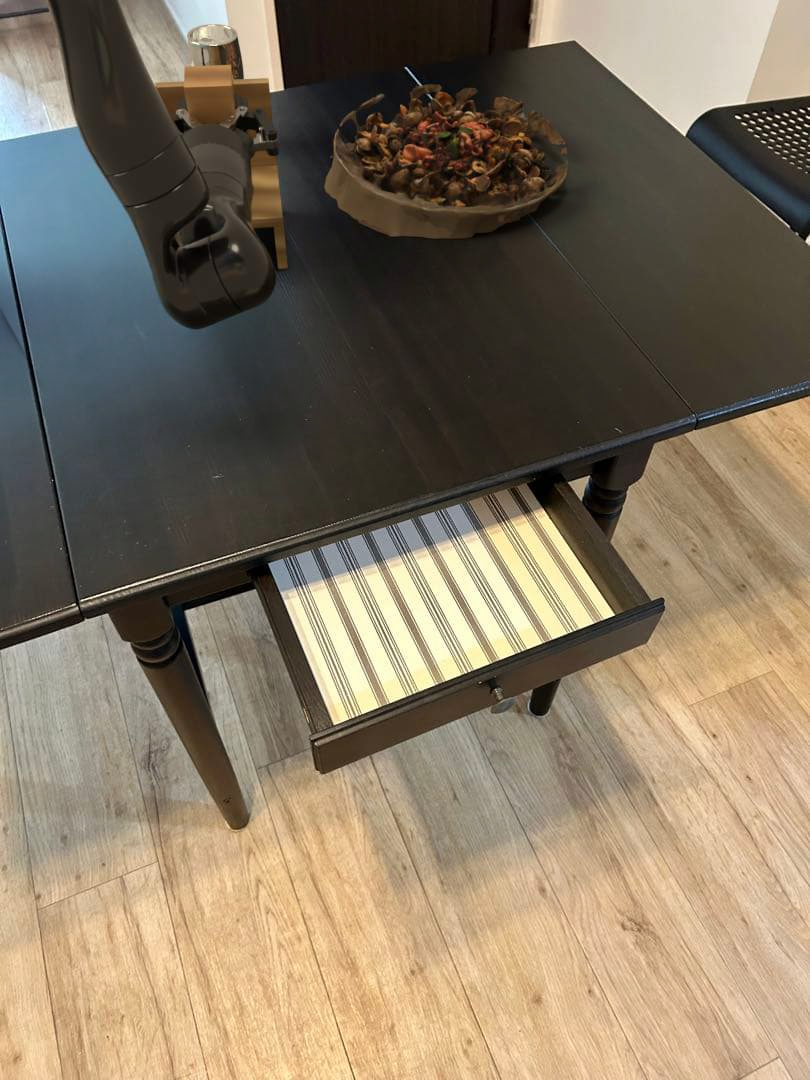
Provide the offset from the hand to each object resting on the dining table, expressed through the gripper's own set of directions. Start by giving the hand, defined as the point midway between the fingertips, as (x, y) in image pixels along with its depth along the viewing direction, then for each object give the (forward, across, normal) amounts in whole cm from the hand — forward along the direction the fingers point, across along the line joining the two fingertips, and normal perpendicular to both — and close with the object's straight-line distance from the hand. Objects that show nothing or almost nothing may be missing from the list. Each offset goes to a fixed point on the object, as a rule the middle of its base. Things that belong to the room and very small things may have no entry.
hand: (213, 102), depth 93 cm
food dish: (+12, -30, +17) cm, 37 cm away
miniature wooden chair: (-2, 0, +17) cm, 17 cm away
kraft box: (-3, 0, +6) cm, 7 cm away
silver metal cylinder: (+23, 0, +17) cm, 28 cm away
